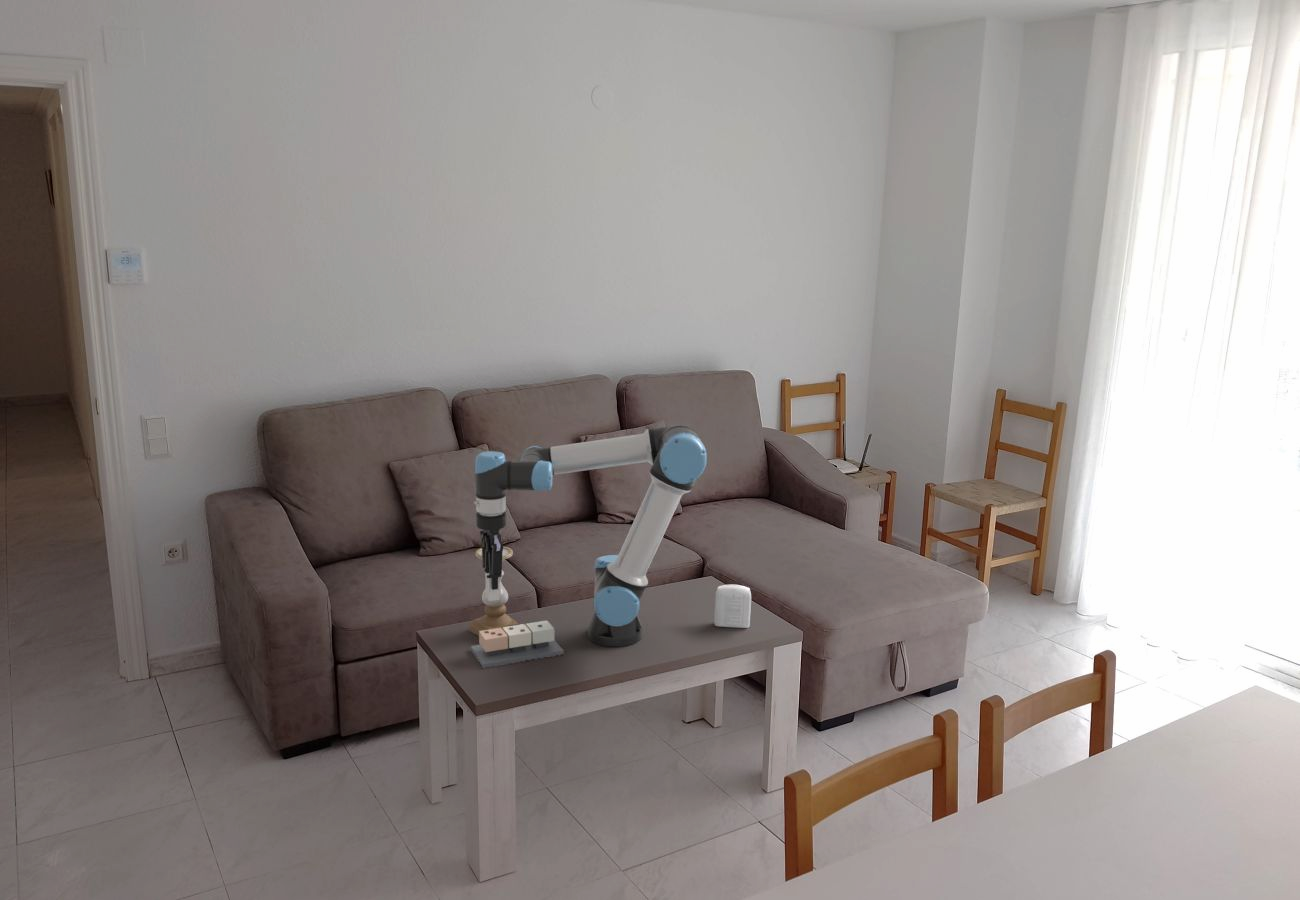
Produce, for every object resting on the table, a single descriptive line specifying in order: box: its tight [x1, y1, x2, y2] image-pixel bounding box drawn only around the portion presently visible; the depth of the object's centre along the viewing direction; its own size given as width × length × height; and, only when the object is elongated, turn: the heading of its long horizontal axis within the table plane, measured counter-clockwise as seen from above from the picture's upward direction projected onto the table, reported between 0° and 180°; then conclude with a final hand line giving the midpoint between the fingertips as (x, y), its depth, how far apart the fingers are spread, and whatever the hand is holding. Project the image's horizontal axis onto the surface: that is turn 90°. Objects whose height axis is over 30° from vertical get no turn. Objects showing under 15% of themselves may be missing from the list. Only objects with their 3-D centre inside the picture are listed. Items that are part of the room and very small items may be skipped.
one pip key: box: [525, 620, 555, 644], centre depth 275 cm, size 6×6×4 cm
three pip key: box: [478, 628, 508, 652], centre depth 270 cm, size 6×6×4 cm
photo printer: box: [713, 583, 752, 629], centre depth 293 cm, size 10×4×12 cm, turn 86°
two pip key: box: [503, 623, 531, 648], centre depth 272 cm, size 6×6×4 cm
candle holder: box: [469, 546, 519, 637], centre depth 283 cm, size 11×11×24 cm
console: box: [470, 639, 565, 669], centre depth 273 cm, size 22×12×4 cm, turn 115°
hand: (492, 598), depth 267 cm, fingers open, 2 cm apart
